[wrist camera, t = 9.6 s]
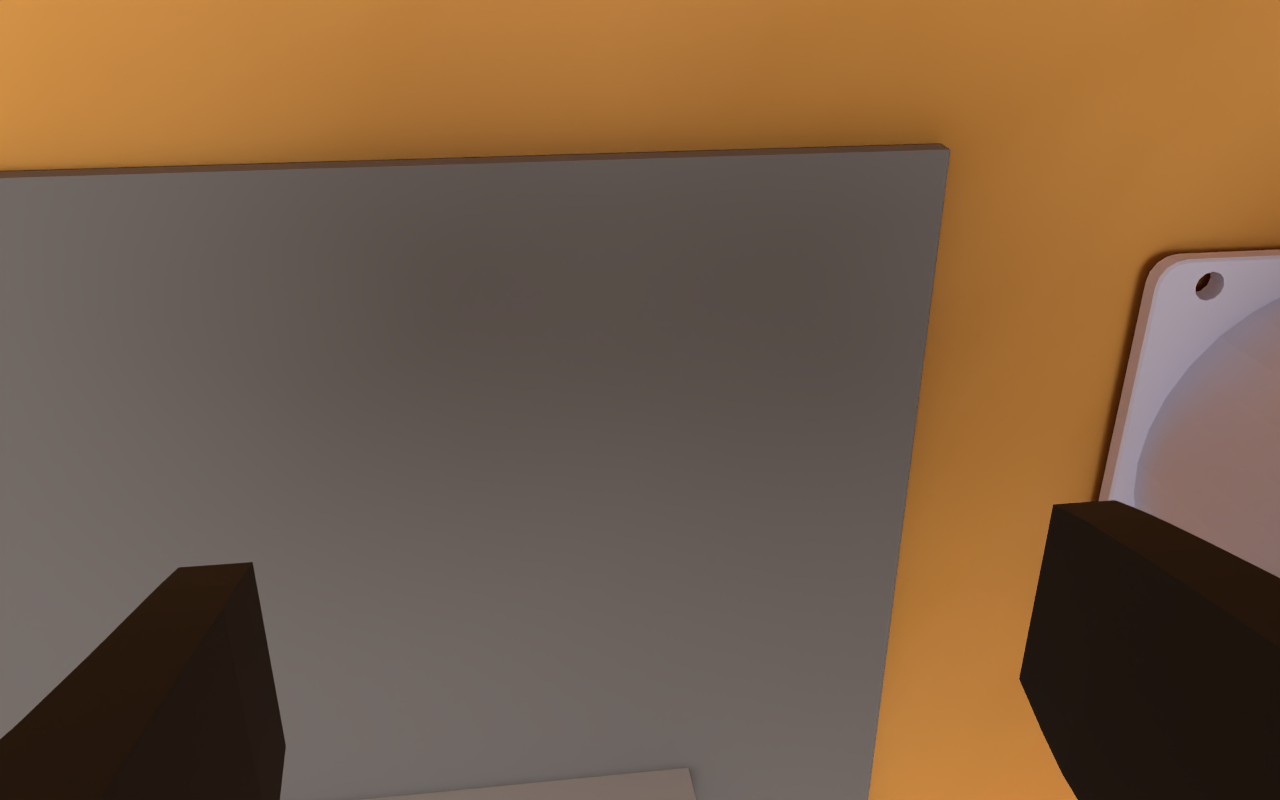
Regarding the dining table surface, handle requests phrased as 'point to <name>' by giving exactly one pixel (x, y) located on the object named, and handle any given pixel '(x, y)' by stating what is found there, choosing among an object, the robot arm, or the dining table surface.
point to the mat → (484, 453)
